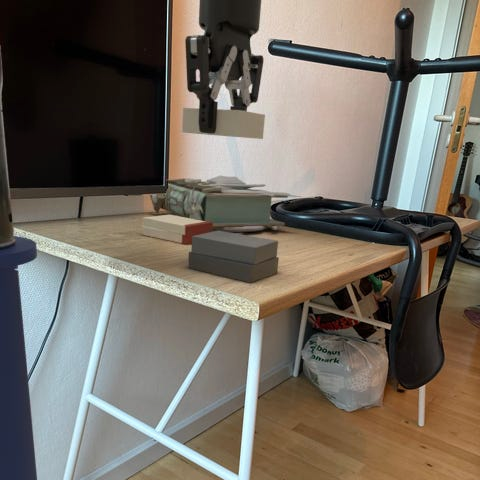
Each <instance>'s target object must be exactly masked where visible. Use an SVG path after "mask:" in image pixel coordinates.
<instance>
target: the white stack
mask: <svg viewBox="0 0 480 480" xmlns="http://www.w3.org/2000/svg"><path fill="white" fill-rule="evenodd" d="M209 232H214V231H213V222H209V221H207V222H206V221H201V220H196V219H190V218H185V217H180V216H175V215H173V214H164V215H163V214H162V215H153V216H152V215H151V216H145V217H144V216H143V217H142V226H141V235H142V236H145V237H151V238H156V239H159V240H160V239H161V240H164V241H170V242H174V243H179V244H182V245H192V236H196V235H200V234H205V233H209Z"/></svg>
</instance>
